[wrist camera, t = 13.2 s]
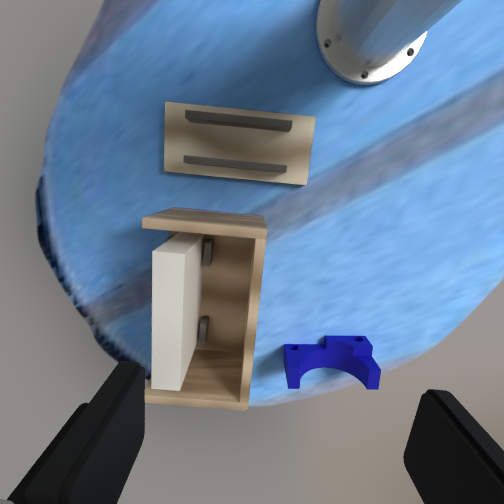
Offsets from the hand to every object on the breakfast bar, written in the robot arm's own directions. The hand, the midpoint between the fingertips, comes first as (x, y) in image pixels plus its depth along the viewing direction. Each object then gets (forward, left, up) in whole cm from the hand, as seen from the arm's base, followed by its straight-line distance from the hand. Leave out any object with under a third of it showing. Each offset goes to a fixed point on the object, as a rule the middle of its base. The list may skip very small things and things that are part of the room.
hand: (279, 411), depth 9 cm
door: (+7, -9, -29) cm, 31 cm away
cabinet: (+7, -6, -30) cm, 31 cm away
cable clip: (+16, +11, -30) cm, 36 cm away
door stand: (-12, -4, -30) cm, 32 cm away
